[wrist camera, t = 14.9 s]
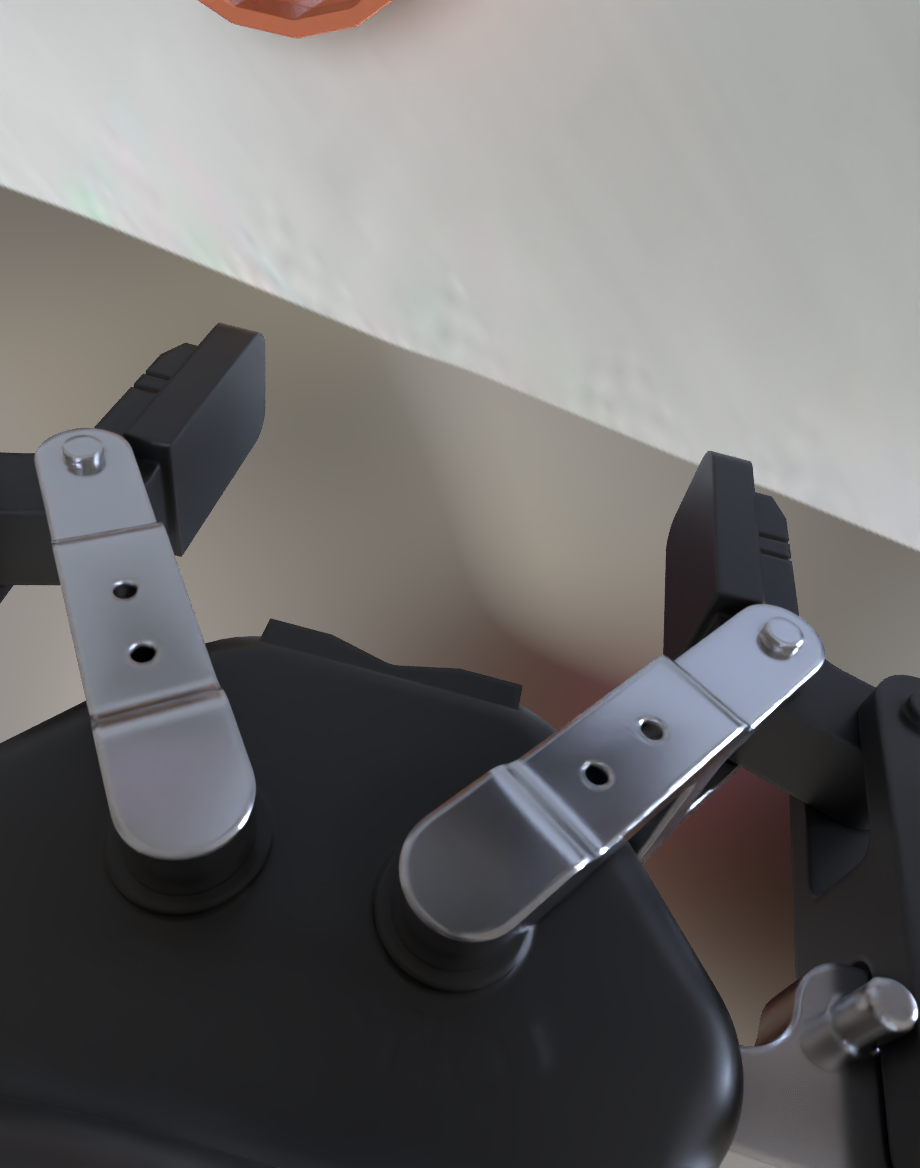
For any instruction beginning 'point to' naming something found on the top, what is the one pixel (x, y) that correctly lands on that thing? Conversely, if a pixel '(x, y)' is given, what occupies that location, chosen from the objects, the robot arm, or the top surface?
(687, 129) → the top surface
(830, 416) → the top surface
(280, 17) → the bowl
